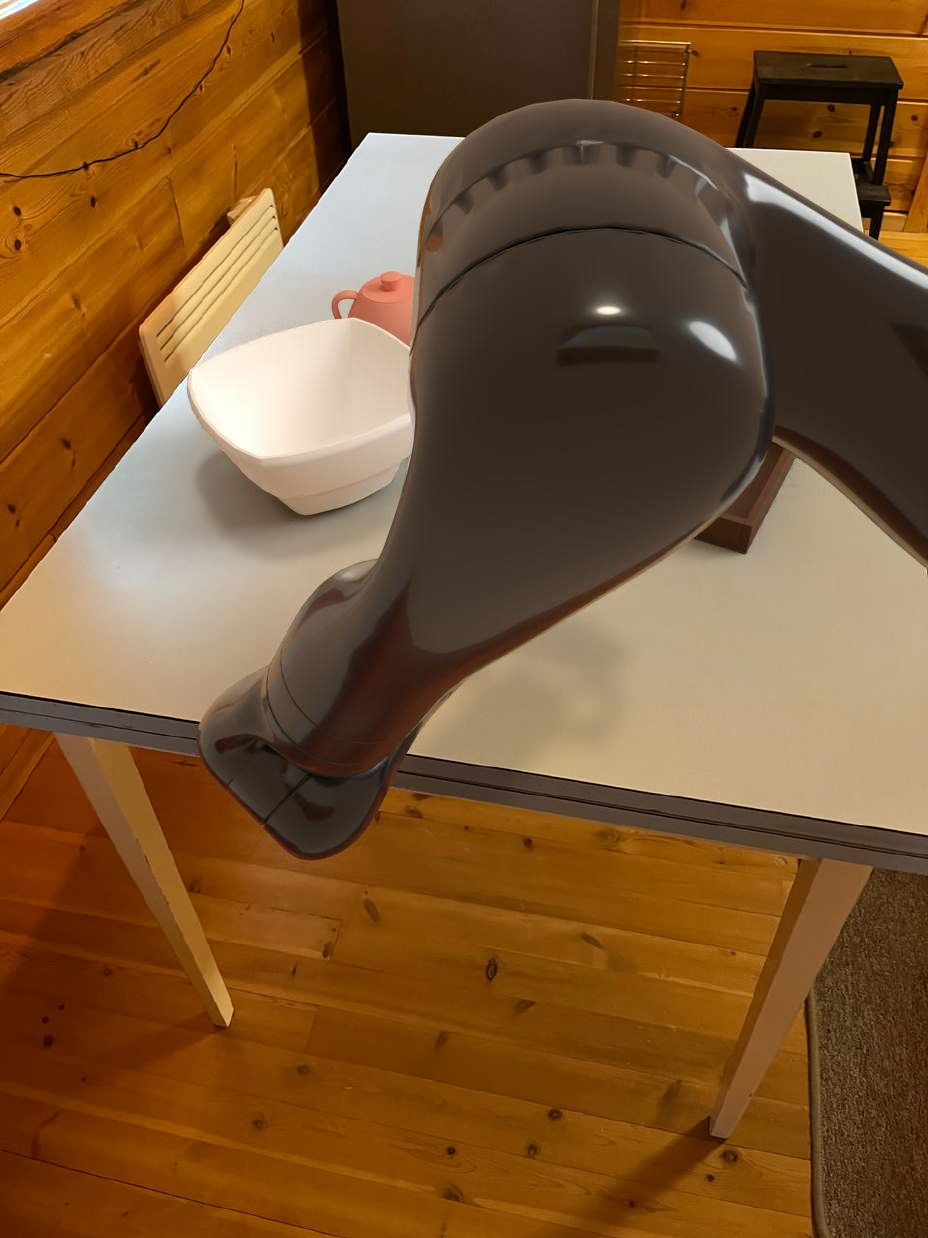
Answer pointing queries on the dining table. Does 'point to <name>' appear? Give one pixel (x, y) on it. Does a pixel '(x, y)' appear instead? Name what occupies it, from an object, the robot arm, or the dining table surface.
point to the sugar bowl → (382, 303)
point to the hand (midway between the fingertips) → (617, 458)
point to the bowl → (310, 411)
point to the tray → (750, 504)
